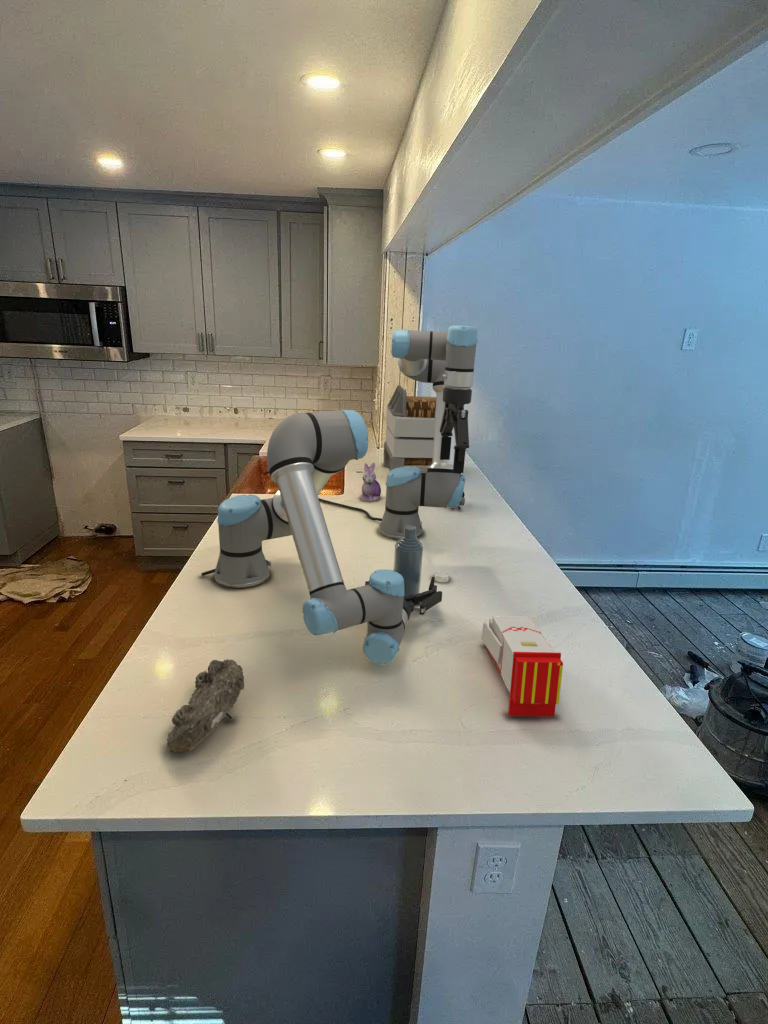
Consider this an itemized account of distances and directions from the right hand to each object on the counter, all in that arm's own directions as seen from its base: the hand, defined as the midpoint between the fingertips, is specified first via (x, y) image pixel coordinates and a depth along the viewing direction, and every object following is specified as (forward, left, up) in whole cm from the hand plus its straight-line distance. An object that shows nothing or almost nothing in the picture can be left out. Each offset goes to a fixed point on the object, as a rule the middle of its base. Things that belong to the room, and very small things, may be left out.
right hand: (451, 465), depth 156 cm
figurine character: (-44, +53, -35) cm, 77 cm away
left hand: (+2, -16, -29) cm, 33 cm away
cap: (0, 0, -33) cm, 33 cm away
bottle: (+3, -17, -35) cm, 39 cm away
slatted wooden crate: (-86, +74, -35) cm, 119 cm away
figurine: (-70, +30, -35) cm, 83 cm away
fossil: (+15, -78, -35) cm, 87 cm away
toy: (+42, -21, -35) cm, 59 cm away
